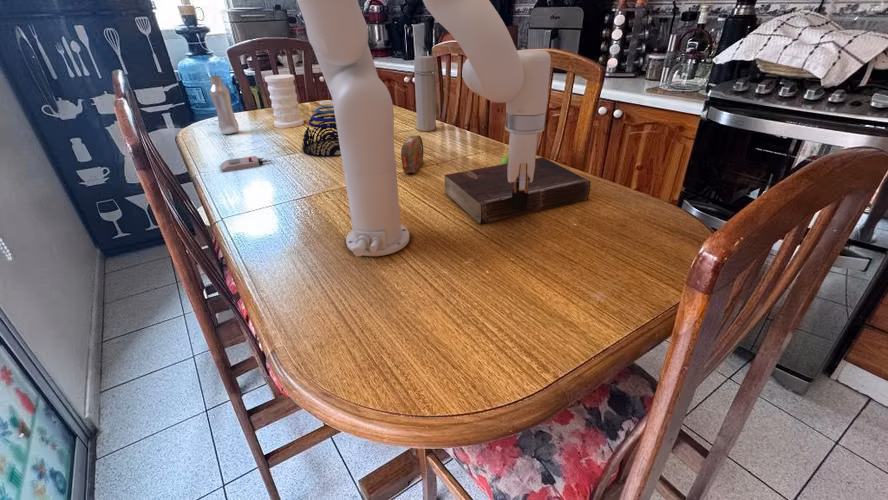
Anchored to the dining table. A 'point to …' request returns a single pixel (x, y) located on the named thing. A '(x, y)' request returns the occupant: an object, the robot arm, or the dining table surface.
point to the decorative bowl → (322, 126)
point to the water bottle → (425, 93)
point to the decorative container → (284, 100)
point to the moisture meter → (242, 163)
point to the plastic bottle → (223, 106)
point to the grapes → (504, 159)
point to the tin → (412, 154)
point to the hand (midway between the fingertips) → (518, 208)
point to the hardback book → (492, 192)
